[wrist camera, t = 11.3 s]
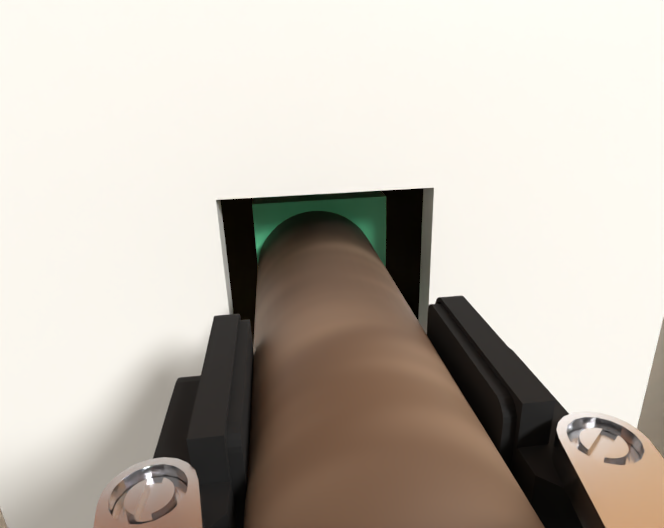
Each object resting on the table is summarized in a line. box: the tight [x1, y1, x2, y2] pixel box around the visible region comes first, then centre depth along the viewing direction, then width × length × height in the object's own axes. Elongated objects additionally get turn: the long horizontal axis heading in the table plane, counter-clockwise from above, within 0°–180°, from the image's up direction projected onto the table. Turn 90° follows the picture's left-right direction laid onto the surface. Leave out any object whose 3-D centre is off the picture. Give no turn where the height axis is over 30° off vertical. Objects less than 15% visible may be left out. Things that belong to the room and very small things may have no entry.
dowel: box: [244, 211, 545, 528], centre depth 9 cm, size 4×4×16 cm
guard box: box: [0, 0, 664, 528], centre depth 18 cm, size 22×18×8 cm
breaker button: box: [252, 191, 386, 268], centre depth 19 cm, size 4×4×4 cm
